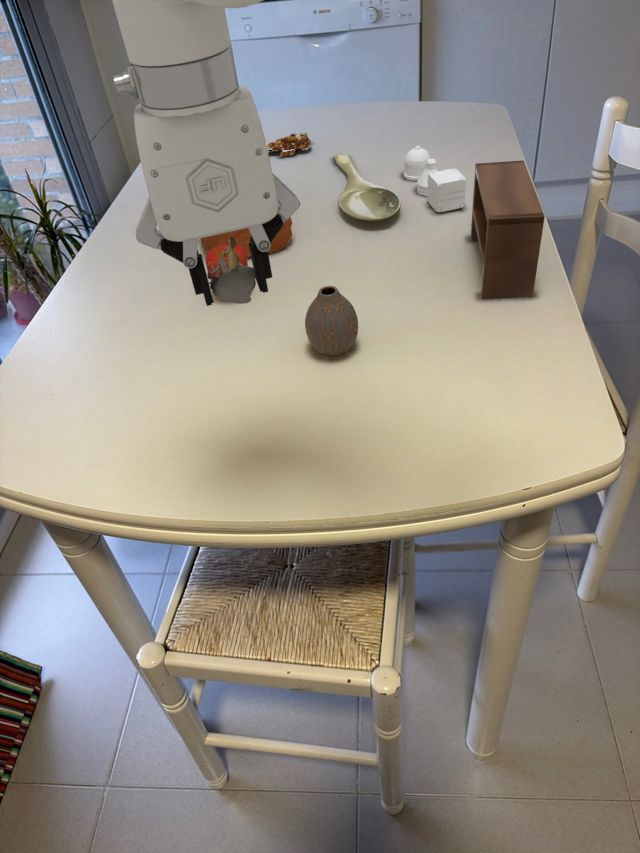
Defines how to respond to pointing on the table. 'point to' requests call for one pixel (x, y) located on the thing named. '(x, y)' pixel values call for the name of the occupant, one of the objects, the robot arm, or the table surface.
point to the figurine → (232, 278)
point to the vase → (331, 322)
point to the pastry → (290, 144)
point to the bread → (244, 238)
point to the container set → (435, 181)
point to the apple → (224, 256)
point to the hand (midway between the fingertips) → (235, 289)
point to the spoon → (365, 195)
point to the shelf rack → (506, 228)
